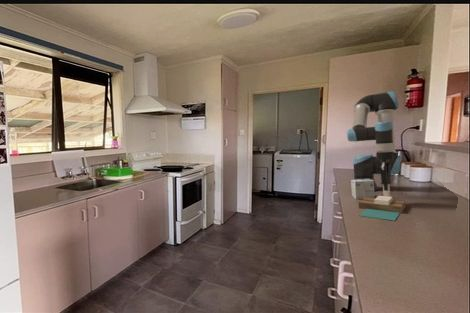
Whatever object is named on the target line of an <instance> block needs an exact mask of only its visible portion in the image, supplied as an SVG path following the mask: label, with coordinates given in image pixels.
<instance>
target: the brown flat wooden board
mask: <svg viewBox="0 0 470 313" xmlns="http://www.w3.org/2000/svg"><path fill="white" fill-rule="evenodd" d="M376 198H377V197H375V198H369V197H365V198H364V199H360V201H358V209H364V210H365V209H374V210H382V211H390V212H398V213H400V214H402V213H403V212H404V210H405V208H406V207H407V206H406V204H407V203H406V200H403V199H402V200H399V199H393V201H392V202H391V203H390V204H389V205H383V204H374V199H376Z"/></svg>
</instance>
